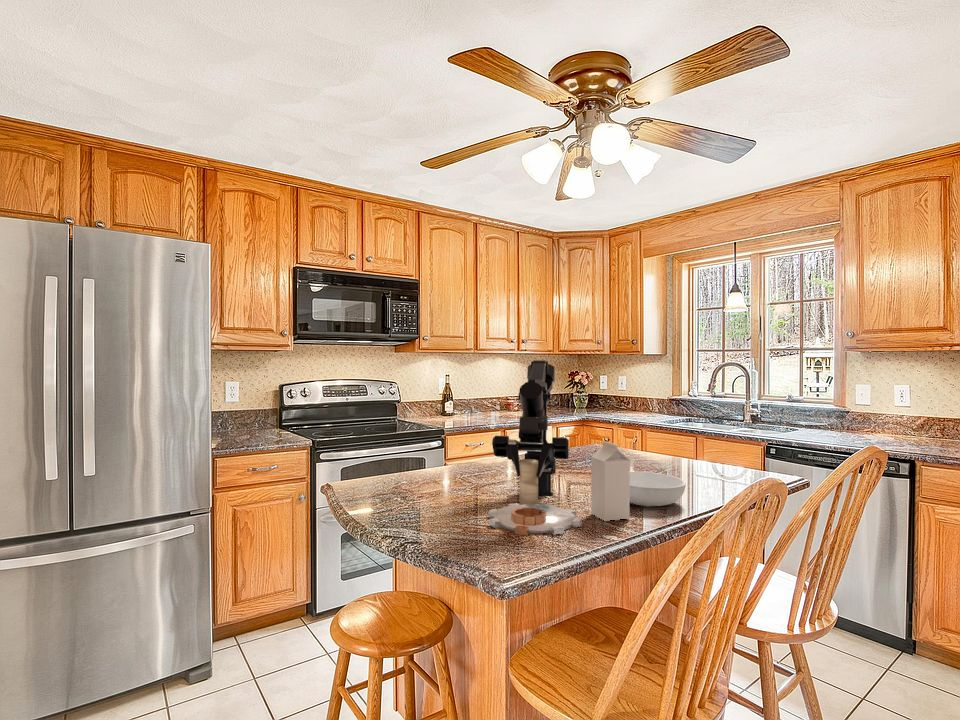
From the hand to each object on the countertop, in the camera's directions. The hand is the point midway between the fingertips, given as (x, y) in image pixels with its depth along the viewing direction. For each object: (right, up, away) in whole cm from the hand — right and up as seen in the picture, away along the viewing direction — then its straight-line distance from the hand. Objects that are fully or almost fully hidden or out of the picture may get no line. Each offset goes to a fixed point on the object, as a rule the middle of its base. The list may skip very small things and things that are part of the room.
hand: (528, 476), depth 130 cm
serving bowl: (+35, -13, +24) cm, 44 cm away
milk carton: (+22, -13, +9) cm, 27 cm away
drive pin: (0, -7, +1) cm, 7 cm away
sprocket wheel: (+2, -12, +6) cm, 14 cm away
